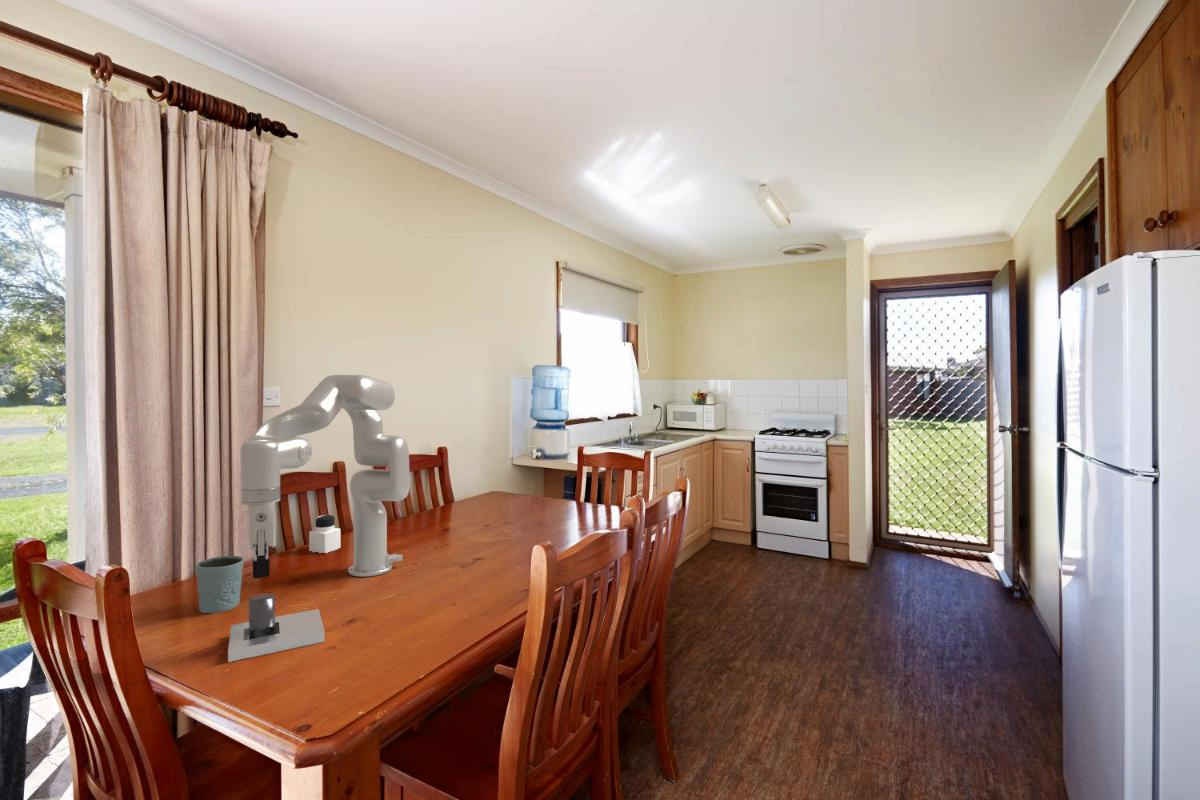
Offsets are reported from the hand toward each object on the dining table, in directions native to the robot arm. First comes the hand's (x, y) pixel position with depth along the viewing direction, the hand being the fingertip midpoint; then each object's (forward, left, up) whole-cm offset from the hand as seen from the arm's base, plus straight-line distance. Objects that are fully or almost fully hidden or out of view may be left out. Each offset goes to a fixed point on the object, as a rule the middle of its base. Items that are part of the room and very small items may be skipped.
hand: (261, 576), depth 122 cm
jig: (-3, 0, -15) cm, 15 cm away
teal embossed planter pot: (+9, -28, -15) cm, 33 cm away
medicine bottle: (-19, -68, -15) cm, 72 cm away
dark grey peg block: (0, 0, -15) cm, 15 cm away
